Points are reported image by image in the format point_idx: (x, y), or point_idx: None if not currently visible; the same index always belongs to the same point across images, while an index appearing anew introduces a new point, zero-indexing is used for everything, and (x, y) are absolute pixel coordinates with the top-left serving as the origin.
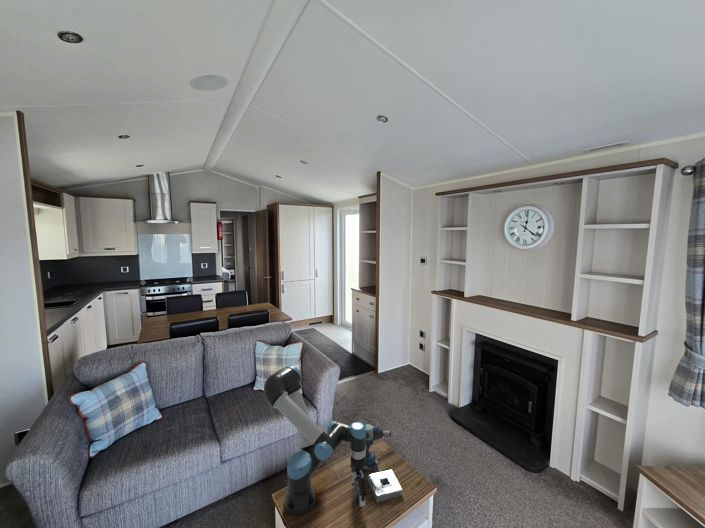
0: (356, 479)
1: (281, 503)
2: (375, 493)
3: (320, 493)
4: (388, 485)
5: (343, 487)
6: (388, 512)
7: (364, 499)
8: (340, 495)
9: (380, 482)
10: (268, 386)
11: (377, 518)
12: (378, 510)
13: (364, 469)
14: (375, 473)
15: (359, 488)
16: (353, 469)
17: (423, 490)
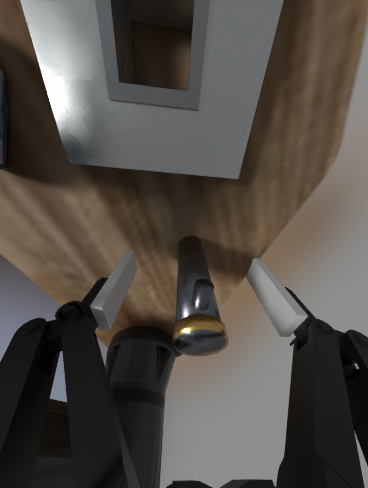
0: (192, 348)
1: None
2: (213, 176)
3: (130, 317)
4: (206, 9)
5: None
6: (302, 144)
7: (295, 298)
8: (149, 282)
9: (153, 90)
10: None
11: (287, 208)
12: (263, 188)
13: (6, 148)
14: (49, 85)
15: (214, 295)
16: (115, 406)
17: None
